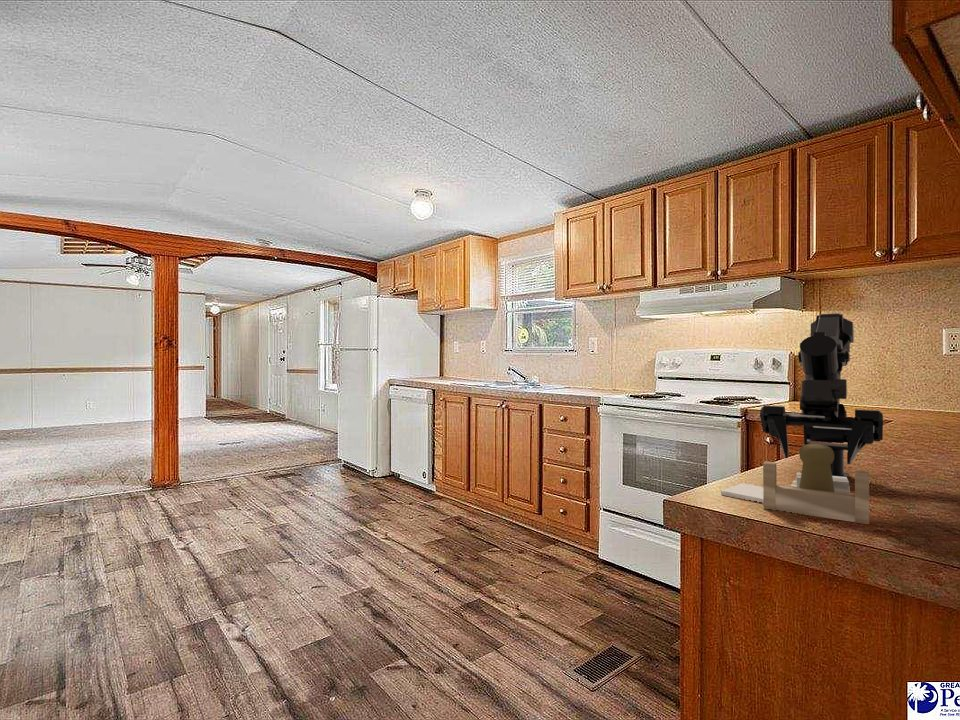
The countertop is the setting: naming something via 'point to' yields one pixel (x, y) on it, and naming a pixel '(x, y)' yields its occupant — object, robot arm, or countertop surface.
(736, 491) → the ceramic pad
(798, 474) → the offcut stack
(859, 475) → the birch rack
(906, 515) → the countertop surface
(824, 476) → the cork
